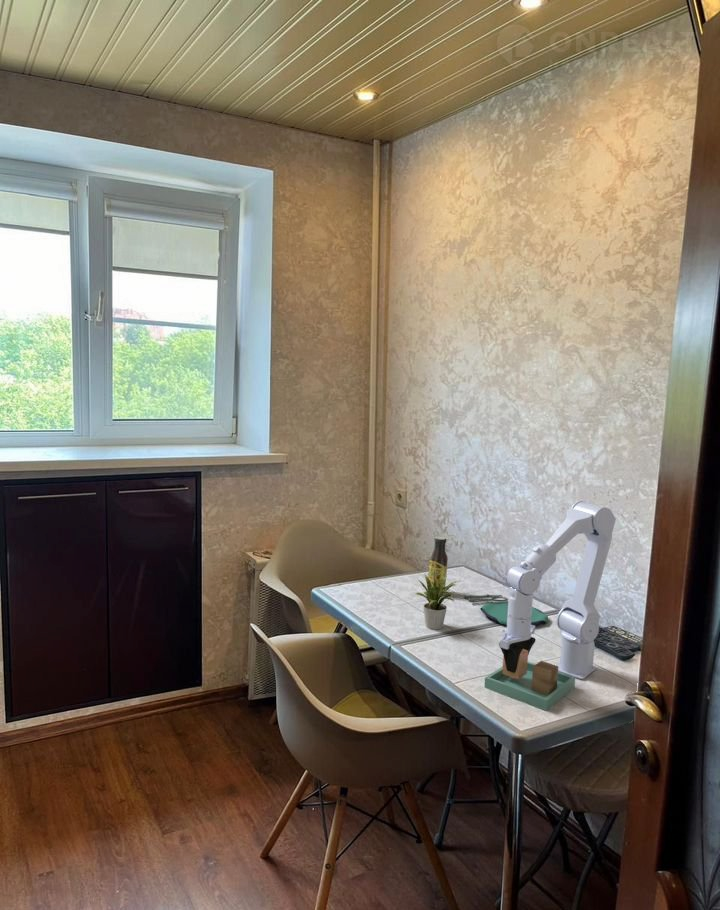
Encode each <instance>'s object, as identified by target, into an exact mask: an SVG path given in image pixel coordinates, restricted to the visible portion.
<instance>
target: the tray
mask: <svg viewBox="0 0 720 910" xmlns="http://www.w3.org/2000/svg"><path fill="white" fill-rule="evenodd" d="M536 664H537V663H533V662H531V661H528V663H527V674H526V675H524V676H523V677H521V678H520V679H516V678H513V677H510V676H507V675H504V674H502V671H503V665H502V666H501V667H499V668H498V669H496V670H494V671H493V672H491V673H490V674H488V675H487V676H485V677H484V688H485V689H488V690H490V691H493V692H496V693H499V694H501V695H503V696H507V697H509V698H511V699H514V700H517V701H519V702H522V703H524V704H527V705H530V706H533V707H535V708H538V709H540V710H543V711H548V710H549V709H550V708H551V707H552V706H554V705H555V704H556V703H557V702H559V701H560V700H562V699H563V697H565V696H566V695H568V693H569V692H571V691H572V690H573V689H575V686H576V685H575V684H576V677H573V676H570V675H567V674H564V673H561V672H558V678H557V689H556V690H555V691H553V692H552V693H551V694H549V695H548V696H546V695H544V694H541V693H538V692H536V691H533V690H531V688H532V675H533V666H534V665H536Z"/></svg>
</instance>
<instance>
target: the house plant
mask: <svg viewBox="0 0 720 910" xmlns="http://www.w3.org/2000/svg"><path fill="white" fill-rule="evenodd" d="M423 575H424V578H425V582H426V585H425V584H424V582H422V580H419V579H418V583H420V585H421V586H422V587H423V588H424V589H425V591H424V592H423V593H424V594H423V593H422V592H415V595H418V596H421V597H423V598H425V599H426V600H427V601H428V602H426V603H424V604H423V607H422V608H423V616H424V624H425V627H426V628H427V629H430V630H437V631H438V630H441V629H443V627H444V623H445V618H446V614H447V609H448V607H447V605H446V604H444V603H446V601H444V600H448V601H449V600H450V601H452V602H454V604H455V603H456V602H455V599H454V598H451V597H454V595H452V594H453V593H454V591H451V592H450V588H452V587H457V583H458V582H460V580H456V581H453V582H450V583H449V584H448V585H446V586H445V587H444V588H442V587H443V585H444V583H445V579H446V580H447V575H446V576H445V577H444V574H443V576H442V578H441V580H440V582H439V583H438V586H437V583H436V579H435V576H434V574H433V578H434V583H433V582H432V581H430V580H429V578H428V576H427V575H428V574H425V573H424V574H423ZM431 582H432V584H433V587H432V585H431ZM443 589H444V590H443ZM442 590H443V591H442ZM441 591H442V592H441ZM444 591H445V592H444ZM448 591H449V592H448ZM440 592H441V593H440Z"/></svg>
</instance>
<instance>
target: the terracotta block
mask: <svg viewBox="0 0 720 910" xmlns="http://www.w3.org/2000/svg"><path fill="white" fill-rule="evenodd" d="M528 659H529V655H528V650H524V649H523V650H522V652H521V654H520V656H519V659H518V664H517V669H516V672H515V673H512V672H510V671H507V669H506V664H505V659H504V655H503V657H502V666H503V671H502V674H504V675H507V676H510V677H513V678H516V679H520V678H521V677H523V676H524V675H526V674H527V663H528V662H529V660H528Z"/></svg>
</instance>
